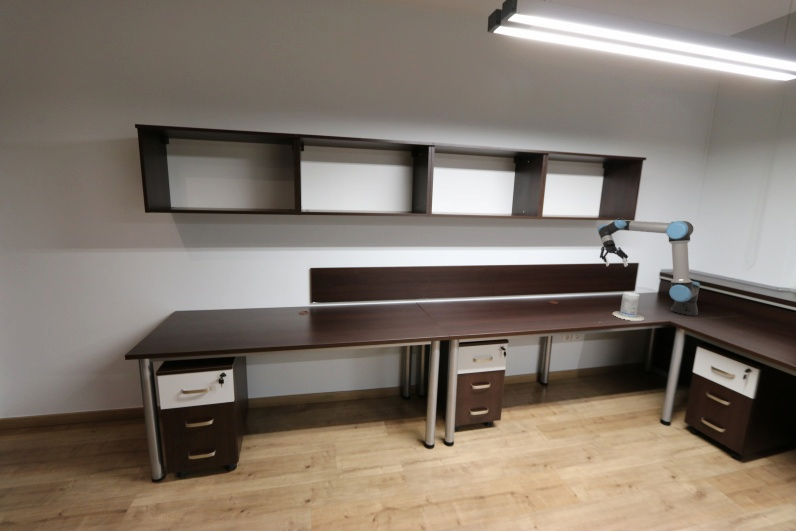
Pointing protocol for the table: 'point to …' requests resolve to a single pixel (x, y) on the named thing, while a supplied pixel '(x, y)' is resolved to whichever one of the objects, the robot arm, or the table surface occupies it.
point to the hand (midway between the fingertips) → (617, 265)
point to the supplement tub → (629, 304)
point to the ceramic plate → (636, 318)
